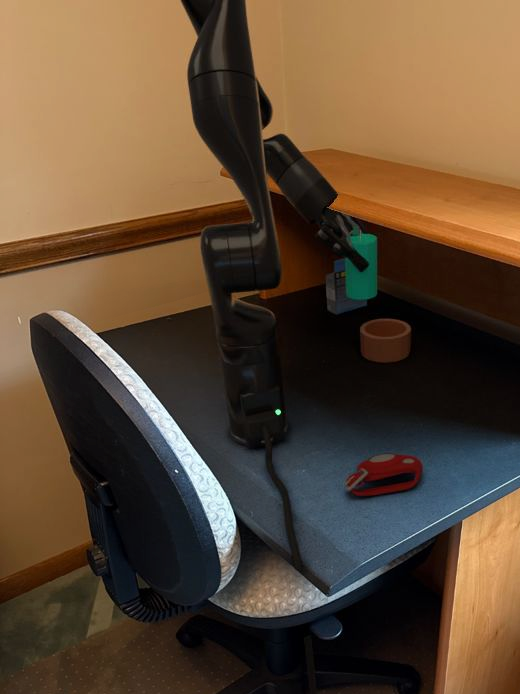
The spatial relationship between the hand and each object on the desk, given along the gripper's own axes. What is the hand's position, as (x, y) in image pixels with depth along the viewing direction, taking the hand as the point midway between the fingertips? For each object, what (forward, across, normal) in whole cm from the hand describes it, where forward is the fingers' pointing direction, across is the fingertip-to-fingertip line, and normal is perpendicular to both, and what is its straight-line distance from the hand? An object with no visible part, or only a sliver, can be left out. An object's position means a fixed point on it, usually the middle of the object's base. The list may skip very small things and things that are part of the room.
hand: (370, 264), depth 124 cm
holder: (+14, +2, +11) cm, 18 cm away
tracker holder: (+24, -41, +1) cm, 48 cm away
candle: (+3, 0, +6) cm, 6 cm away
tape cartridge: (+3, +21, +22) cm, 31 cm away
